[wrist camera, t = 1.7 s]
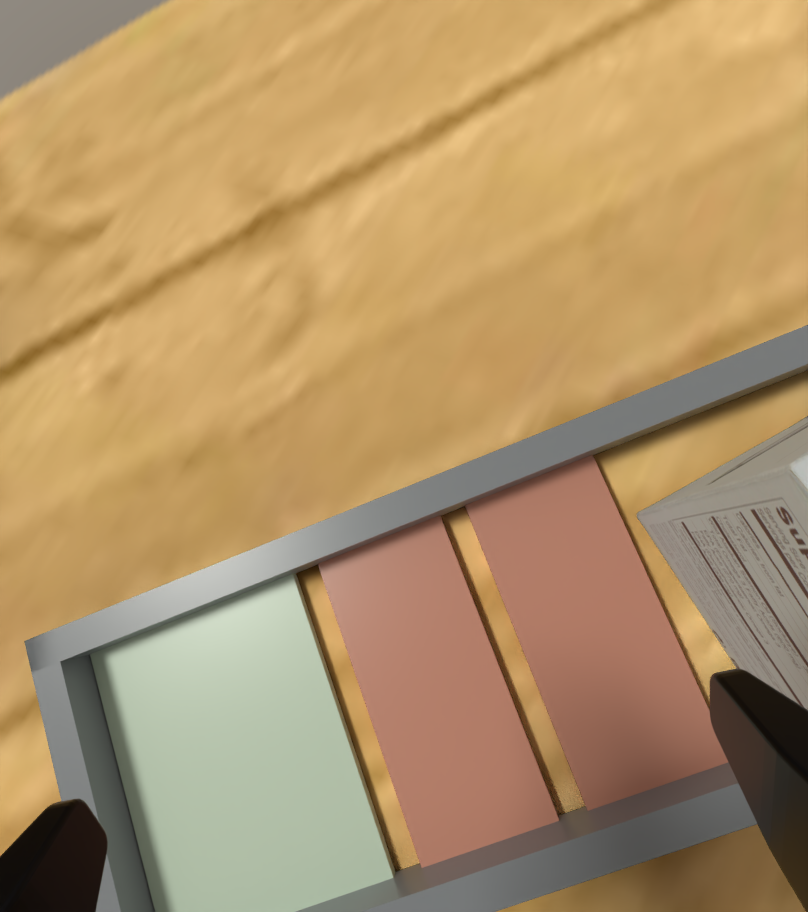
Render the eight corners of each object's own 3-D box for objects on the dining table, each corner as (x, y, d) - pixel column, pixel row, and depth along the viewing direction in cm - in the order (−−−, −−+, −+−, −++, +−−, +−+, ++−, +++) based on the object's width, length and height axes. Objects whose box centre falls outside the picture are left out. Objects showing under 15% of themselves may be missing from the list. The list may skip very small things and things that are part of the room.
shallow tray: (1055, 688, 19) (1118, 703, 17) (150, 995, 22) (116, 1038, 20) (842, 320, 22) (876, 297, 20) (61, 634, 25) (24, 641, 23)
